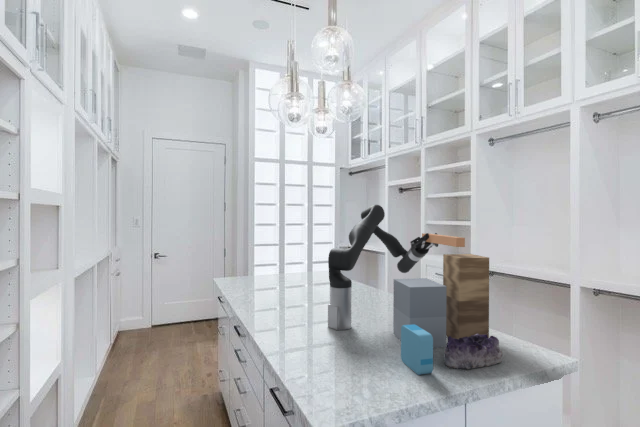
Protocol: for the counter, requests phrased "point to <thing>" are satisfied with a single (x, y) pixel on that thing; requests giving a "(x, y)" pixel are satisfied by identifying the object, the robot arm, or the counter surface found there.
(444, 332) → the low stand
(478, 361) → the geode
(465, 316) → the tall tower
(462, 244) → the bar
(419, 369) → the blue flat block
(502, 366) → the counter surface
